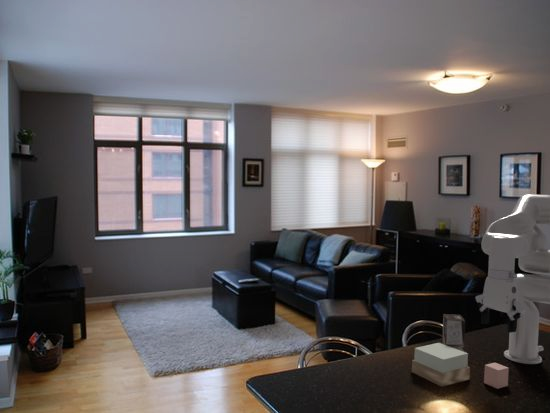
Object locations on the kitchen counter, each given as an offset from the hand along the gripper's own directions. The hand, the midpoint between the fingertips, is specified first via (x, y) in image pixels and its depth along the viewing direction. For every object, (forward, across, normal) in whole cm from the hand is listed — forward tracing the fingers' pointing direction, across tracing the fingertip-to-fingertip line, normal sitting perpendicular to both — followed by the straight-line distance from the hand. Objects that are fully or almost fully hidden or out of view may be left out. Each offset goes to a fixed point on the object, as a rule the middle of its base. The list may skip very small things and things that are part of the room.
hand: (498, 327), depth 155 cm
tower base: (+19, +13, +10) cm, 26 cm away
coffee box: (+19, +21, -5) cm, 29 cm away
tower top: (+15, +13, +10) cm, 22 cm away
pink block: (+19, 0, -1) cm, 19 cm away
